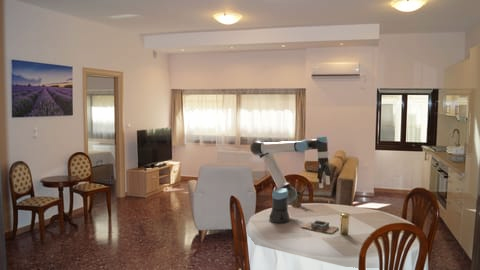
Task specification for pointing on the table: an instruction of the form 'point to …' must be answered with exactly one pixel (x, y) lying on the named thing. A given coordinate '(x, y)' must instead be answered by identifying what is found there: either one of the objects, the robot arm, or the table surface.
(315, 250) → the table surface
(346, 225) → the brass fitting
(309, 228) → the wooden board with frame
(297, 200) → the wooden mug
